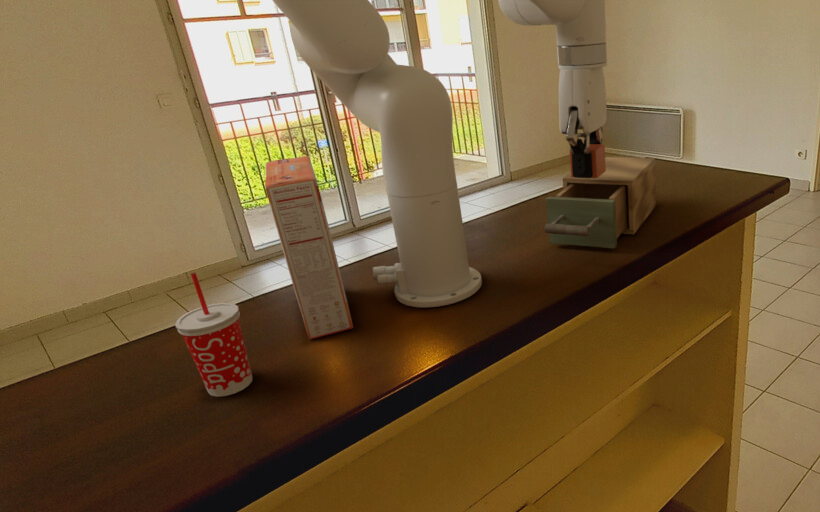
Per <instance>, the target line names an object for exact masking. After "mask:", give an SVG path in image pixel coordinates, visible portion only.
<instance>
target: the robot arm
mask: <svg viewBox="0 0 820 512" xmlns="http://www.w3.org/2000/svg"><path fill="white" fill-rule="evenodd" d="M272 2H273V3H274V4H275V6H276V7H277V8H278V9H279V10H280V12H282V14H283V15H284V16H285V18H287V19H288V21H290V23H289V29H290V36H291V41H292V43H293V46H294V48H295V50H296V52H297V53H298V55H299V57H300V58H301V59H302V60H303V62H304V63H305V64H306V65H307V66H308V67H309V69H310V70H311V71H312V72H313V74H315V75H316V77H317V78H318V79H319V80H320V81H321V82H322V83H323V84H324V85H325V86H326V87H327V89H329V90H330V92H331V93H332V94H333V96H335V97H336V98H337V99H338V101H340V103H342V105H344V107H345V108H346V109H347V110H348V111H349V112H350V113H351V114H352V116H354V117H355V118H356V119H357V120H358V121H359V122H360V123H362V124H363V125H364V126H365V127H367V128H369V129H371V130H372V131H375V132H378V133H379V134H380V144H381V145H380V149H381V150H380V153H381V168H382V175H383V181H384V186H385V192H386V196H387V201H388V206H389V211H390V216H391V221H392V227H393V232H394V237H395V242H396V247H397V251H398V252H397V253H398V258H399V262H395V263H394V265H389V266H387V265H381V266H380V265H379V266H373V267H372V277H373V279H374V281H376V280H377V284H378V285H388V284H395V286H394V288H393V289H394V295H395V298H396V300H397V301H398V302H399V303H401V304H402V305H405V306H407V307H412V308H421V309H423V308H428V309H429V308H438V307H444V306H449V305H452V304H456V303H459V302H461V301H464V300H466V299H468V298H470V297H472V296H473V295H474V294H476V293H477V292H478V291H479V290H480V289H481V287H482V284H483V279H482V275H481V272H479V271H478V270H477V269H475V268H474V267H470V265H469V256H468V250H467V242H466V236H465V230H464V223H463V216H462V209H461V201H460V194H459V189H458V188H459V187H458V181H457V175H456V168H455V159H454V148H453V126H454V125H453V122H454V121H453V120H454V118H453V117H454V116H453V105H452V101H451V98H450V95H449V92H448V91H447V89H446V87H445V86H444V84H443V83H442V81H441V80H440V79H439V78H438V77H436V76H435V75H434V74H433V73H431V72H430V71H428V70H425V69H424V68H420V67H418V66H413V65H404V64H398V63H396V62H395V60H394V59H393V58H392V56H391V55H390V54H389V51H390V47H391V46H390V44H391V39H390V32H389V29H388V26H387V24H386V21H385V20H384V19H383V16H382V15H381V14H380V13H379V11H378V10H377V8H376V7H375V6H374V5H373V4H372V2H371V1H369V0H272ZM497 2H498V6H499V8H500V10H501V12H502V13H503V15H504V16H505V17H506V18H507V19H508V20H510V21H511V22H513V23H514V24H516V25H520V26H530V27H531V26H555V35H556V37H555V38H556V51H557V63H558V69H559V76H558V77H559V79H558V123H559V124H558V125H559V127H558V128H559V132H560V134H562V135H566V136H565V139H566V141H567V143H568V145H569V146H570V148H569V150H570V151H571V154H572V169H573V177H575V178H591V177H592V176H593V173H592V153H589V144H603V126H604V125H605V124H606V122H607V118H608V117H607V115H608V114H607V113H608V111H607V110H608V108H607V90H606V81H605V71H604V67H607V66H608V53H607V50H608V49H607V27H606V0H497ZM581 130H582V132H578V131H581ZM582 138H583V140H582ZM570 151H569V152H570Z"/></svg>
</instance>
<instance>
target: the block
mask: <svg viewBox="0 0 820 512" xmlns="http://www.w3.org/2000/svg"><path fill="white" fill-rule="evenodd" d="M589 153H592V173H593V176H592V177H591V178H598V177H599V176H600V175H602V174H603V173H604V172H605V171H606V165H605V157H606V144H604V143H602V144H589ZM569 164H570V172H571V177H573V169H572V154H571V151H570V149H569Z"/></svg>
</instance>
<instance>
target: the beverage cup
mask: <svg viewBox="0 0 820 512" xmlns="http://www.w3.org/2000/svg"><path fill="white" fill-rule="evenodd" d="M190 276H191V279H192V282H193V285H194V289H195V291H196V294H197V297H198V300H199V303H200V305H201V306H200V307H197V308H195V309H192V310H189V311H187V312H186V313H184V314H182V315H181V316H180V317H179V318H178V319H176V320H175V324H174V325H175V329H176V330H177V332H178V333H179V334H180V335H181V336H182V338H183V340H184V342H185V344H186V347H187V349H188V351H189V353H190V355H191V358H192V360H193V362H194V364H195V366H196V369H197V371H198V373H199V375H200V378H201V380H202V382H203V384H204V387H205V389H206V391H207V394H209V395H210V396H211V397H217V398H218V397H227V396H231V395H234V394H237V393H239V392H241V391H243V390H244V389H246V388H248V387H249V386H250V384H252V382H253V374H252V370H251V369H252V368H251V365H250V362H249V357H248V352H247V347H246V344H245V339H244V335H243V331H242V326H241V322H240V318H241V317H240V316H241V313H240V308H239V306H238V305H237V304H235V303H231V302H218V303H217V302H216V303H211V304H207V302H206V300H205V296H204V293H203V290H202V288H201V284H200V281H199V279H198V274H197V273H196V272H191V273H190Z"/></svg>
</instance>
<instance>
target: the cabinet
mask: <svg viewBox="0 0 820 512" xmlns="http://www.w3.org/2000/svg"><path fill="white" fill-rule="evenodd" d="M605 165H606V171H605V172H604V173H603V174H602V175H600V176H599V177H598V178H575V177H571V171H570V172H569V173H568V174H566V175H565V176H563V177H562V190H564V189H565V188H566V187H568V186H569V185H570V184H571V183H585V184H609V185H628V207H629V225H628V226H627V227H626V228H625V230H624V231H623V232H622V233H621V234H620V235H635V233H636V232H637V231H638V230H639V229H640V227H641V226H642V224H643V223H644V222H645V221H646V220H647V218H648V217H649V216H650V214H651V213H652V212H653V210H654V209H655V208H656V206H657V203H656V202H657V200H656V198H657V195H656V158H655V157H631V156H630V157H629V156H628V157H625V156H619V157H618V156H605Z"/></svg>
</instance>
